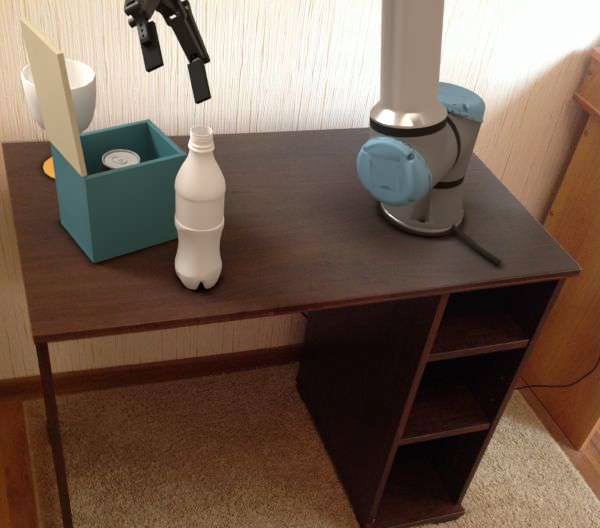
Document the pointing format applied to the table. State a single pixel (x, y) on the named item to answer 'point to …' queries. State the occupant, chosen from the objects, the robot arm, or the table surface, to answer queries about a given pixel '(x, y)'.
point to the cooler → (120, 191)
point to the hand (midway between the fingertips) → (180, 85)
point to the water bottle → (199, 212)
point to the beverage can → (118, 159)
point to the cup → (82, 96)
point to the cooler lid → (53, 94)
